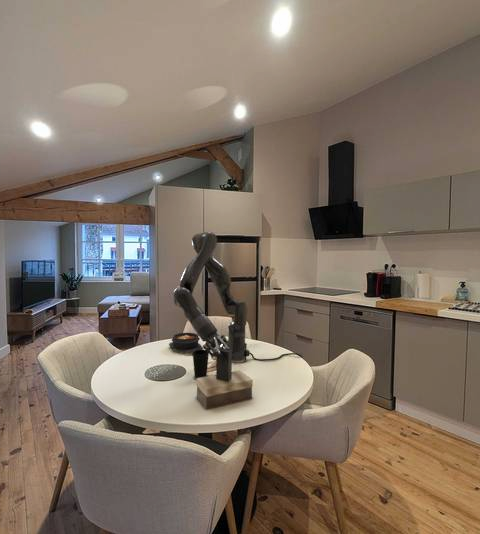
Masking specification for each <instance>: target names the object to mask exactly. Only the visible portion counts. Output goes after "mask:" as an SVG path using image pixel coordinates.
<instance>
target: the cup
mask: <svg viewBox="0 0 480 534" xmlns="http://www.w3.org/2000/svg"><path fill="white" fill-rule="evenodd" d="M209 357H210V354H209V353H208V352H207V351H206V350H205V349H202V350H195V351H193V352H192V362H193V363H192V364H193V372H194V373H193V374H194V379H196V380H197V378H201V377H206V376H208V366H209Z"/></svg>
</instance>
